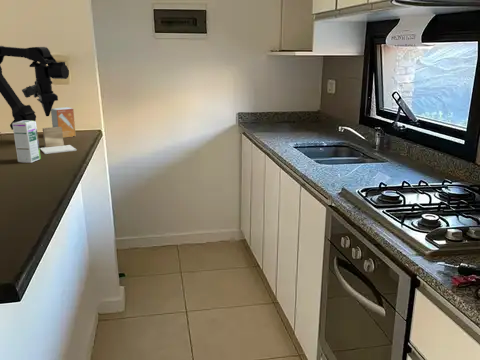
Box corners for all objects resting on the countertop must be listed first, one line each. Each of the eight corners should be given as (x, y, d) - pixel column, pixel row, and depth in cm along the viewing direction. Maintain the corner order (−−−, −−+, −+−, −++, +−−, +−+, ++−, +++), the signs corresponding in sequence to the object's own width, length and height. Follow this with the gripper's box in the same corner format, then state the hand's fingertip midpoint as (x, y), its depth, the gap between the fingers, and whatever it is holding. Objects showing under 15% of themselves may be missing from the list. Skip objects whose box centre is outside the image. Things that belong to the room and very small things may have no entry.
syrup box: (31, 163, 166) (26, 122, 162) (17, 162, 167) (11, 122, 163) (41, 159, 171) (36, 120, 167) (27, 158, 172) (22, 119, 168)
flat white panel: (39, 149, 188) (39, 148, 187) (70, 146, 194) (70, 144, 194) (44, 154, 180) (44, 152, 179) (76, 150, 186) (76, 149, 186)
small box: (59, 138, 209) (56, 109, 205) (53, 136, 213) (50, 108, 209) (76, 136, 214) (73, 108, 211) (70, 134, 219) (67, 106, 215)
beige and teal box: (44, 147, 191) (42, 128, 189) (62, 145, 195) (60, 126, 193) (46, 148, 189) (43, 129, 187) (63, 146, 193) (61, 127, 191)
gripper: (18, 77, 194) (23, 114, 198) (26, 80, 179) (30, 120, 183) (46, 76, 199) (50, 113, 204) (56, 79, 184) (60, 118, 189)
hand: (47, 116), depth 195 cm, fingers closed
